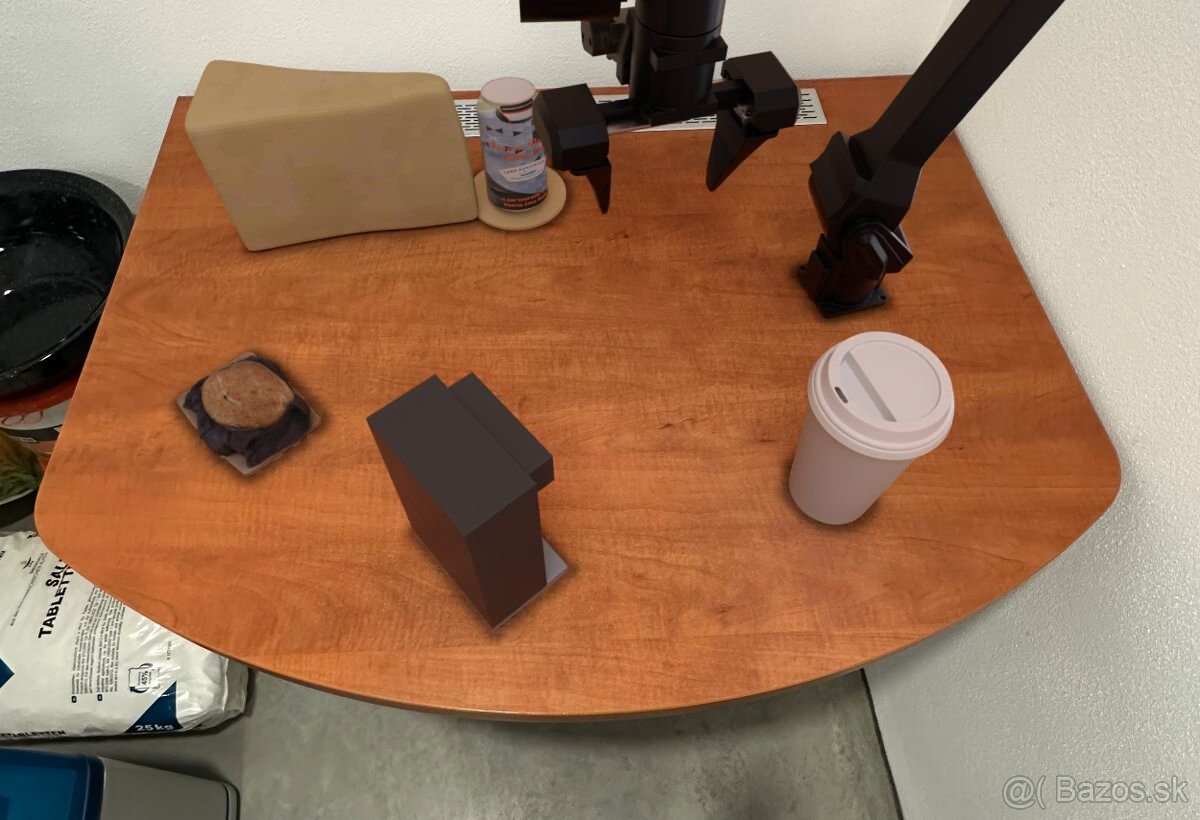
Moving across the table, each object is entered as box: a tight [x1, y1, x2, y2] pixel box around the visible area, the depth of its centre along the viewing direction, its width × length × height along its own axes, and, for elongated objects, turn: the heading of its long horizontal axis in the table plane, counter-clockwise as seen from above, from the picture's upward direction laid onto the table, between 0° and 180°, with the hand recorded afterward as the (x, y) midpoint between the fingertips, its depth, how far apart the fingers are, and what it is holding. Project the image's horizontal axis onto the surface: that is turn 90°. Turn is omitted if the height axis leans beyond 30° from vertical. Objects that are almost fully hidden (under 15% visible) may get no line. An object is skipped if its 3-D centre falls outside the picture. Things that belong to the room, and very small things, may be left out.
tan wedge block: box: [184, 59, 479, 252], centre depth 73 cm, size 22×10×15 cm, turn 92°
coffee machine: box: [365, 371, 569, 632], centre depth 53 cm, size 7×10×16 cm
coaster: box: [474, 165, 567, 231], centre depth 81 cm, size 10×10×1 cm
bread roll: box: [176, 351, 323, 478], centre depth 65 cm, size 11×8×4 cm
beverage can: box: [475, 76, 548, 212], centre depth 76 cm, size 6×7×12 cm
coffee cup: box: [788, 330, 955, 526], centre depth 58 cm, size 10×10×15 cm
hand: (656, 199), depth 64 cm, fingers open, 9 cm apart
